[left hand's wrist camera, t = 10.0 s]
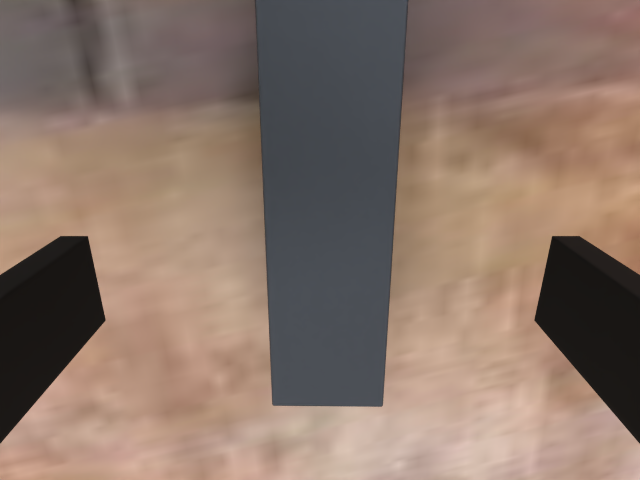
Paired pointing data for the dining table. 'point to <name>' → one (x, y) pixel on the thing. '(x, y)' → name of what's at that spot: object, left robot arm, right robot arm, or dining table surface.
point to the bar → (329, 192)
